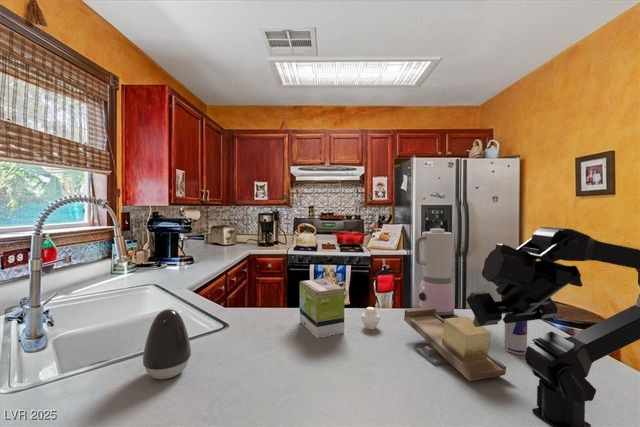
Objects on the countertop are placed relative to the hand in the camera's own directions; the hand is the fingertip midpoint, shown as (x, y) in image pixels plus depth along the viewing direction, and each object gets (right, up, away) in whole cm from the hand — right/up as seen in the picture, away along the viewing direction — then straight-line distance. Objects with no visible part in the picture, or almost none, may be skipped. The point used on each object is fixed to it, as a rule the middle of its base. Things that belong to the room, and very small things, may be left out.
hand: (489, 323), depth 71 cm
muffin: (-22, -13, +33) cm, 41 cm away
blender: (+4, -13, +47) cm, 49 cm away
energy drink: (+16, -14, +16) cm, 27 cm away
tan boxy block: (-2, -10, +8) cm, 13 cm away
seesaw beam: (-4, -10, +14) cm, 18 cm away
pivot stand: (-4, -13, +14) cm, 20 cm away
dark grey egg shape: (-75, -13, +3) cm, 76 cm away
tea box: (-38, -13, +32) cm, 52 cm away
